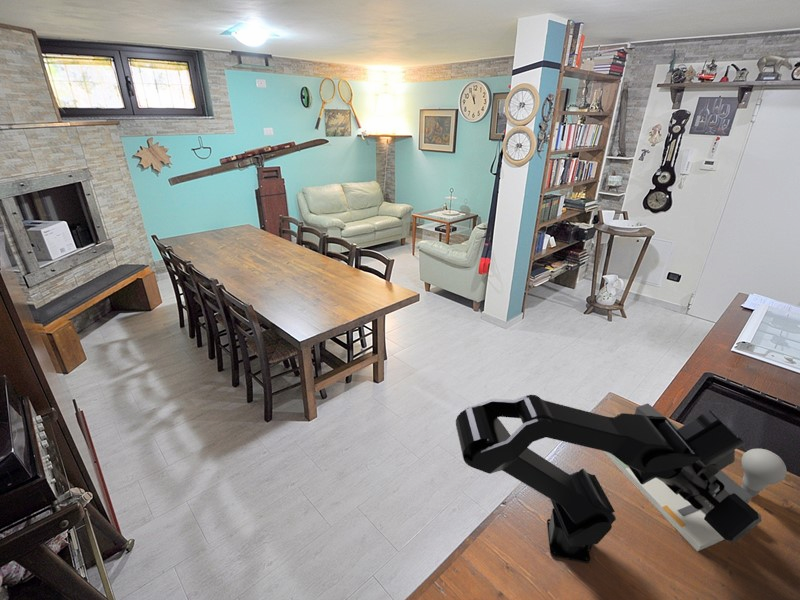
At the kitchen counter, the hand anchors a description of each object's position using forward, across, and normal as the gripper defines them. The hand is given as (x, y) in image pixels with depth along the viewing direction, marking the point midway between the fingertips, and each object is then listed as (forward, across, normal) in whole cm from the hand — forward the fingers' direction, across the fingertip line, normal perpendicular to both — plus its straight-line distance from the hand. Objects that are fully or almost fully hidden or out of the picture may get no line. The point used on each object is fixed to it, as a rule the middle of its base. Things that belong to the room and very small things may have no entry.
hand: (705, 489), depth 70 cm
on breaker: (+6, +13, +1) cm, 14 cm away
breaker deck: (+5, +7, +4) cm, 10 cm away
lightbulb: (+14, 0, -4) cm, 15 cm away
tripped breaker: (+5, 0, +2) cm, 5 cm away
